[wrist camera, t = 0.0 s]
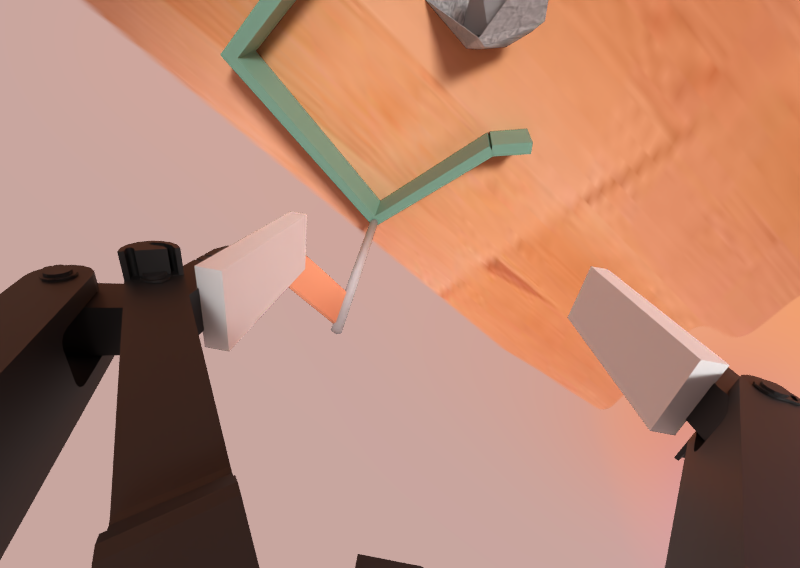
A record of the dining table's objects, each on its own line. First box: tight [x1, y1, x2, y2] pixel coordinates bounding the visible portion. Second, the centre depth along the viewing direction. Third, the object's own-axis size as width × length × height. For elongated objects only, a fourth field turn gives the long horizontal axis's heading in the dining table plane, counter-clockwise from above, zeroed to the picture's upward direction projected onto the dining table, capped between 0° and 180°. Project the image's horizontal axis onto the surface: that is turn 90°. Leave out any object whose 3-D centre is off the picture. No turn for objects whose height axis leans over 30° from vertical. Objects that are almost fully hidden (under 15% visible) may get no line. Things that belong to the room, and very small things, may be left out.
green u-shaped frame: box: [220, 0, 533, 334], centre depth 27 cm, size 21×27×22 cm
